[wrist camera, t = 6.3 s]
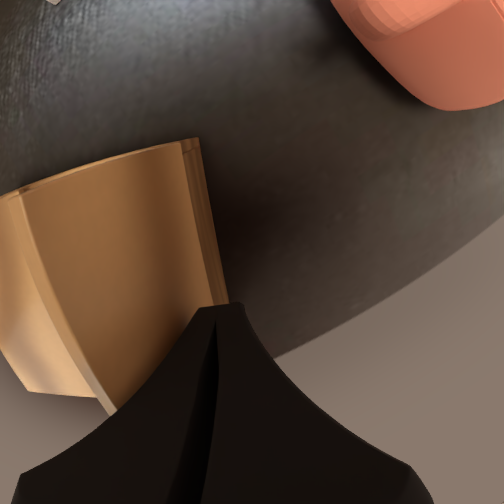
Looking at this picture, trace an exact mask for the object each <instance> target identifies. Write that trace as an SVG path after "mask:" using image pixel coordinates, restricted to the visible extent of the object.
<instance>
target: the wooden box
mask: <svg viewBox="0 0 504 504" xmlns="http://www.w3.org/2000/svg"><path fill="white" fill-rule="evenodd" d="M175 143H180V144H181V149H182V155H183V161H184V166H185V172H186V177H187V183H188V188H189V193H190V198H191V203H192V209H193V214H194V218H195V223H196V228H197V233H198V238H199V243H200V247H201V252H202V256H203V261H204V265H205V270H206V274H207V279H208V283H209V287H210V292H211V296H212V300H213V304H214V305H221V304H229V299H228V294H227V289H226V284H225V279H224V274H223V269H222V264H221V259H220V254H219V249H218V244H217V239H216V233H215V228H214V223H213V217H212V212H211V206H210V201H209V195H208V190H207V184H206V178H205V172H204V167H203V161H202V155H201V149H200V143H199V137H194V138H189V139H184V140H179V141H174V142H170V143H165V144H160V145H156V146H152V147H148V148H143V149H139V150H135V151H131V152H127V153H124V154H120V155H116V156H113V157H109V158H106V159H102V160H99V161H95V162H92V163H89V164H85V165H82V166H79V167H76V168H73V169H70V170H67V171H64V172H61V173H58V174H55V175H52V176H50V177H47V178H44V179H41V180H39V181H36V182H34V183H31V184H28V185H26V186H23V187H21V188H18V189H16V190H14V191H11V192H9V193H6V194H4V195H2V196H0V349H1V351H2V353H3V354H4V356H5V358H6V359H7V361H8V362H9V364H10V365H11V367H12V368H13V370H14V371H15V373H16V374H17V376H18V377H19V379H20V380H21V382H22V383H23V384H24V386H25V387H26V389H27V390H28V391H31V392H39V393H48V394H57V395H68V396H82V397H96V396H95V394H94V393H93V391H92V390H91V388H90V387H89V385H88V383H87V382H86V380H85V379H84V377H83V376H82V374H81V372H80V371H79V369H78V367H77V366H76V364H75V362H74V361H73V359H72V357H71V356H70V354H69V352H68V350H67V348H66V347H65V345H64V343H63V341H62V339H61V337H60V336H59V334H58V332H57V330H56V328H55V326H54V324H53V322H52V320H51V318H50V316H49V314H48V312H47V310H46V307H45V305H44V303H43V301H42V299H41V296H40V294H39V292H38V290H37V287H36V285H35V282H34V280H33V278H32V275H31V273H30V270H29V267H28V265H27V262H26V259H25V257H24V254H23V251H22V248H21V245H20V242H19V239H18V236H17V233H16V230H15V227H14V223H13V220H12V216H11V213H10V209H9V206H8V200H9V198H11V197H13V196H16V195H18V194H20V193H23V192H25V191H27V190H30V189H32V188H35V187H37V186H39V185H42V184H45V183H47V182H50V181H52V180H55V179H58V178H60V177H63V176H66V175H69V174H71V173H74V172H77V171H80V170H83V169H86V168H89V167H92V166H95V165H98V164H101V163H104V162H108V161H111V160H114V159H118V158H121V157H124V156H128V155H131V154H135V153H139V152H142V151H146V150H150V149H154V148H158V147H162V146H166V145H170V144H175Z"/></svg>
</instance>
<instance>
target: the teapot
mask: <svg viewBox="0 0 504 504" xmlns="http://www.w3.org/2000/svg"><path fill="white" fill-rule="evenodd" d="M330 1H331V2H332V4H333V6H334V7H335V9H336V10H337V12H338V13H339V14H340V16H341V17H342V19H343V20H344V22H345V23H346V24H347V26H348V27H349V28H350V30H351V31H352V32H353V34H354V35H355V36H356V37H357V38H358V39H359V41H360V42H361V43H362V44H363V46H364V47H365V48H366V49H367V50H368V51H369V52H370V53H371V54H372V55H373V57H374V58H375V59H376V60H377V61H378V62H379V63H380V64H381V65H382V66H383V67H384V68H385V69H386V70H387V71H388V72H389V73H390V74H391V75H392V76H393V77H394V78H395V79H396V80H397V81H398V82H399V83H400V84H401V85H402V86H403V87H404V88H406V89H407V90H408V91H409V92H410V93H411V94H412V95H414V96H415V97H417V98H418V99H419V100H421V101H422V102H424V103H425V104H427V105H430V106H432V107H435V108H437V109H440V110H446V111H458V110H467V109H474V108H479V107H484V106H488V105H491V104H494V103H497V102H499V101H501V100H503V99H504V0H330Z"/></svg>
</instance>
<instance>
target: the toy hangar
mask: <svg viewBox="0 0 504 504" xmlns="http://www.w3.org/2000/svg"><path fill="white" fill-rule="evenodd" d="M47 1H49V2H51V3H52V4H54V5H56V4H57V3H58V2H60V1H61V0H47Z"/></svg>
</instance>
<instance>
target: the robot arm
mask: <svg viewBox="0 0 504 504" xmlns="http://www.w3.org/2000/svg"><path fill="white" fill-rule="evenodd" d="M11 504H434V502H433V500H432V497H431V495H430V493H429V492H428V490H427V489H426V487H425V485H424V484H423V482H422V481H421V479H420V478H419V477H418V475H417V474H416V472H415V471H414V470H413V469H412V467H411V466H409V465H408V464H406V463H404V462H402V461H400V460H398V459H396V458H394V457H392V456H390V455H388V454H386V453H385V452H383V451H381V450H379V449H378V448H376V447H374V446H372V445H371V444H369V443H367V442H366V441H364V440H363V439H361V438H360V437H358V436H357V435H355V434H354V433H352V432H351V431H349V430H348V429H346V428H345V427H344V426H342V425H341V424H340V423H338V422H337V421H336V420H334V419H333V418H332V417H331V416H329V415H328V414H327V413H326V412H324V411H323V410H322V409H321V408H319V407H318V406H317V405H316V404H315V403H314V402H312V401H311V400H310V399H309V398H308V397H307V396H306V395H305V394H304V393H303V392H302V391H301V390H300V389H299V388H298V387H297V386H296V385H295V384H294V383H293V382H292V381H291V380H290V379H289V378H288V377H287V376H286V374H285V373H284V372H283V371H282V370H281V369H280V368H279V366H278V365H277V364H276V363H275V361H274V360H273V358H272V357H271V356H270V355H269V353H268V352H267V350H266V349H265V348H264V346H263V344H262V343H261V341H260V340H259V338H258V337H257V335H256V333H255V332H254V330H253V328H252V326H251V324H250V322H249V320H248V318H247V316H246V313H245V308H244V305H243V304H242V303H240V302H236V303H229V304H221V305H214V306H207V307H199V308H198V310H197V311H196V312H195V314H194V315H193V317H192V318H191V320H190V322H189V323H188V325H187V326H186V328H185V329H184V331H183V332H182V334H181V335H180V337H179V338H178V340H177V341H176V343H175V344H174V346H173V347H172V348H171V350H170V351H169V353H168V354H167V355H166V357H165V358H164V359H163V361H162V362H161V363H160V365H159V366H158V367H157V368H156V370H155V371H154V372H153V373H152V375H151V376H150V377H149V378H148V380H147V381H146V382H145V383H144V384H143V385H142V386H141V388H140V389H139V390H138V391H137V392H136V393H135V394H134V395H133V396H132V397H131V398H130V399H129V400H128V401H127V402H126V403H125V404H124V405H123V406H122V407H121V408H119V409H118V410H117V411H116V412H115V413H114V414H113V415H111V416H110V417H109V418H108V419H107V420H106V421H104V422H103V423H102V424H101V425H100V426H99V427H97V429H95V430H94V431H93V432H91V433H90V434H88V435H87V436H86V437H84V438H83V439H82V440H80V441H79V442H77V443H76V444H74V445H73V446H71V447H70V448H68V449H67V450H65V451H64V452H62V453H60V454H59V455H57V456H55V457H53V458H52V459H50V460H48V461H46V462H44V463H42V464H40V465H38V466H36V467H35V468H33V469H31V470H29V471H27V472H24V473H22V474H21V475H20V478H19V481H18V483H17V487H16V489H15V493H14V496H13V499H12V502H11ZM502 504H504V502H503V503H502Z"/></svg>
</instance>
